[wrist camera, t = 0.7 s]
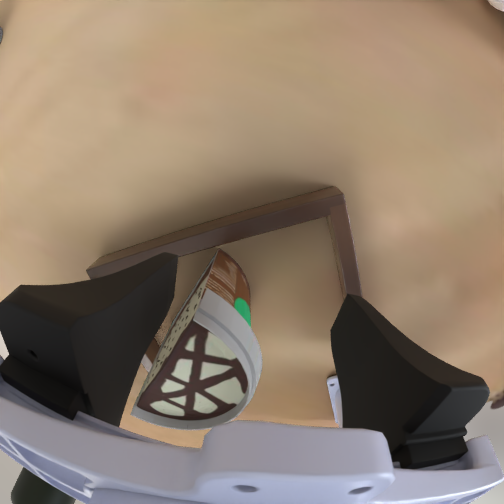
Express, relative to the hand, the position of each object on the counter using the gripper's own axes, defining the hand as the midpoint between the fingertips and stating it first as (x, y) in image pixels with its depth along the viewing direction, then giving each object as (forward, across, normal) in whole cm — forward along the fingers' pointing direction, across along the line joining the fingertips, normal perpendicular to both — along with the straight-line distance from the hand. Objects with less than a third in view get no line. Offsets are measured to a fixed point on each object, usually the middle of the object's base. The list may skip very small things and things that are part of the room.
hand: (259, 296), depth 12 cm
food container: (+10, +2, +8) cm, 13 cm away
